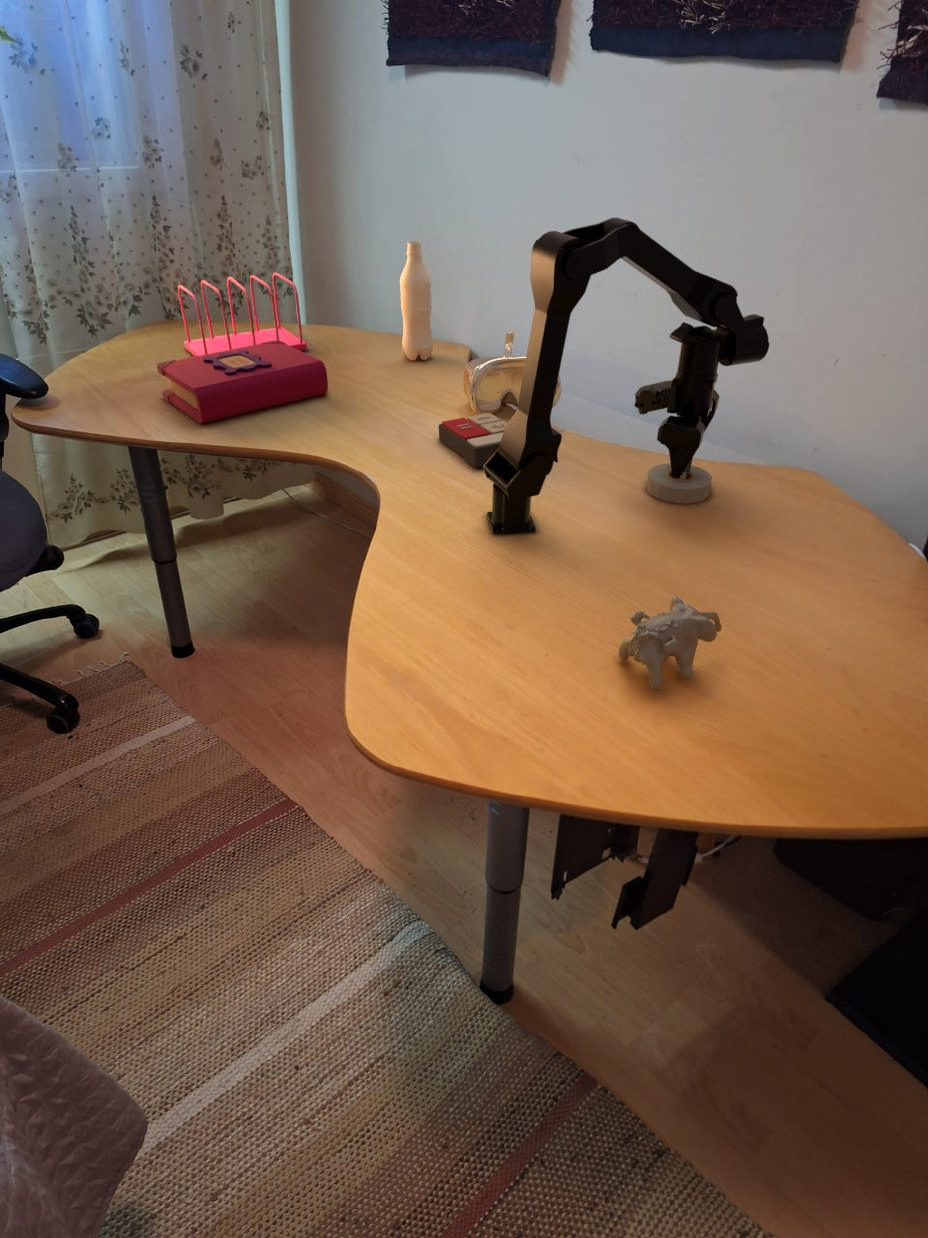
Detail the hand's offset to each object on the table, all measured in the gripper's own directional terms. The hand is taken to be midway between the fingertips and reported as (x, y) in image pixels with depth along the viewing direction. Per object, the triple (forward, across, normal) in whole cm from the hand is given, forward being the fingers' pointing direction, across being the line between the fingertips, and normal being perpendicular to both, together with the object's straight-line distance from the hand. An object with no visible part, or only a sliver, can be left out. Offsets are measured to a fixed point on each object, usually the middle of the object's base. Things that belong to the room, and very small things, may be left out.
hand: (681, 466), depth 128 cm
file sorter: (+4, -38, -112) cm, 118 cm away
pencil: (+4, 0, 0) cm, 4 cm away
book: (+4, -10, -92) cm, 92 cm away
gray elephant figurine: (+4, +47, +8) cm, 47 cm away
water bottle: (+4, -48, -70) cm, 85 cm away
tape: (+4, 0, 0) cm, 4 cm away
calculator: (+4, -3, -36) cm, 36 cm away
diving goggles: (+4, -24, -38) cm, 45 cm away
